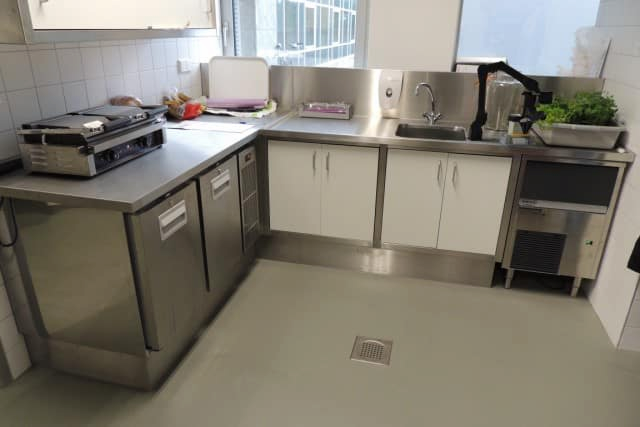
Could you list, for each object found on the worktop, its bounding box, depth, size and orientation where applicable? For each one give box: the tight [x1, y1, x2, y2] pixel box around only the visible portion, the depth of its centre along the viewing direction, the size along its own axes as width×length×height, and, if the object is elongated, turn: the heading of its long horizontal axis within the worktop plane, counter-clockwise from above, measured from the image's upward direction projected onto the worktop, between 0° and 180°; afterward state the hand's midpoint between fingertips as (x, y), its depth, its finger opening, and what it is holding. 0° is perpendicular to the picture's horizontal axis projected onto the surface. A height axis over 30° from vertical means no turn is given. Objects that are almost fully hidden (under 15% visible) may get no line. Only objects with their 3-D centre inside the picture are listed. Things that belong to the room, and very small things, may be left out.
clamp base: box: [497, 131, 538, 148], centre depth 244 cm, size 16×11×6 cm
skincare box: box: [507, 113, 523, 138], centre depth 259 cm, size 6×4×12 cm
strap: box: [503, 132, 532, 137], centre depth 243 cm, size 14×3×1 cm, turn 98°
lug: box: [527, 134, 535, 144], centre depth 241 cm, size 2×3×5 cm
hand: (524, 134), depth 244 cm, fingers closed, pressing on strap
